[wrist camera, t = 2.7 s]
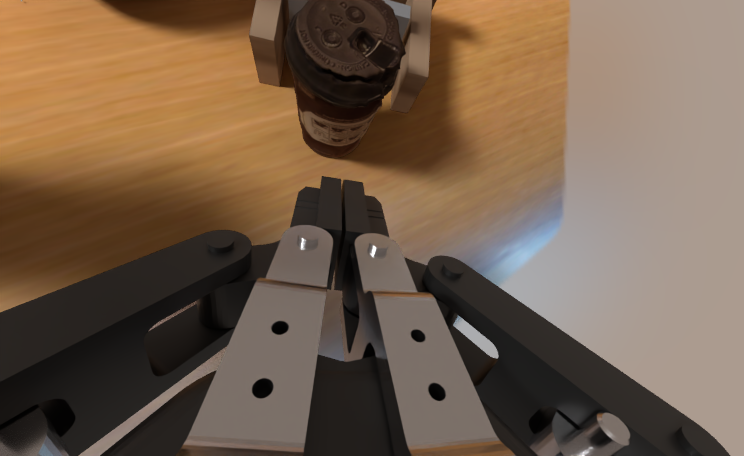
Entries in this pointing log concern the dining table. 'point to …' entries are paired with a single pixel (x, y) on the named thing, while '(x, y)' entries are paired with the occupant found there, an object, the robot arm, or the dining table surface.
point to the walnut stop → (414, 64)
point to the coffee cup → (342, 69)
